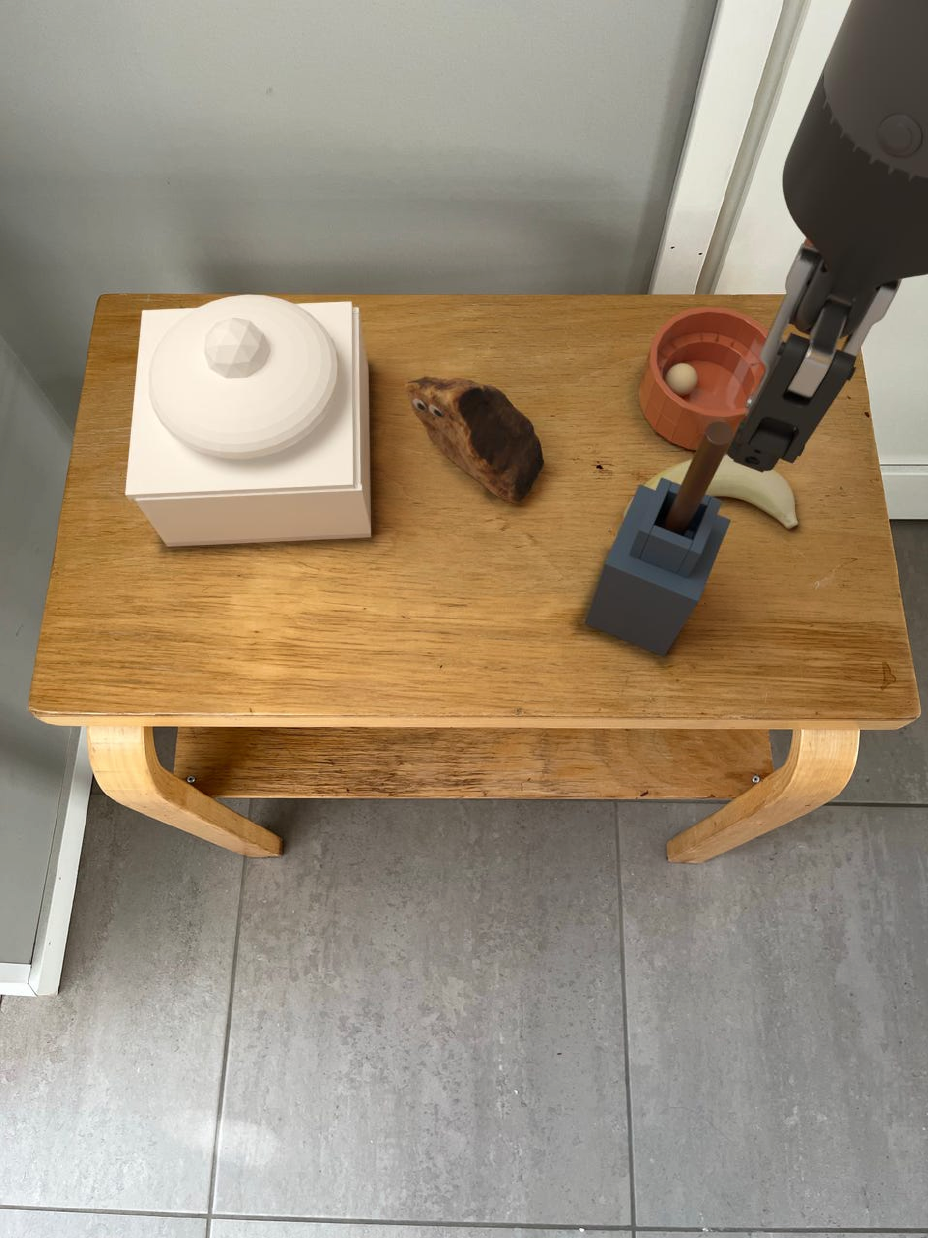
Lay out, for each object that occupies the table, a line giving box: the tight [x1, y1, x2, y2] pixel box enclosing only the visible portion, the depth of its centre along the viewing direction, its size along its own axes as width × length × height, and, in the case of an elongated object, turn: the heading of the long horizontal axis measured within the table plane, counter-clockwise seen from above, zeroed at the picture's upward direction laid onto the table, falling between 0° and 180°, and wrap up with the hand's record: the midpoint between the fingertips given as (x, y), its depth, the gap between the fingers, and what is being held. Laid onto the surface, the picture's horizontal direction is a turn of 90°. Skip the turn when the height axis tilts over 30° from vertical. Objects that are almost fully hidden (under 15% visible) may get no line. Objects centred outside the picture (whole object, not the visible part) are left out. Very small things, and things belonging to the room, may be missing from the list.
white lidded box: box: [124, 294, 372, 548], centre depth 74 cm, size 18×18×16 cm
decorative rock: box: [404, 375, 545, 505], centre depth 76 cm, size 12×6×11 cm, turn 52°
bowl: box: [638, 306, 769, 451], centre depth 80 cm, size 11×11×6 cm
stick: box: [662, 421, 734, 536], centre depth 58 cm, size 2×2×14 cm
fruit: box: [622, 454, 799, 530], centre depth 78 cm, size 7×15×3 cm, turn 98°
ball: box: [665, 363, 698, 396], centre depth 82 cm, size 3×3×3 cm
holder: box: [583, 477, 731, 657], centre depth 68 cm, size 7×7×16 cm
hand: (776, 388), depth 44 cm, fingers open, 8 cm apart
